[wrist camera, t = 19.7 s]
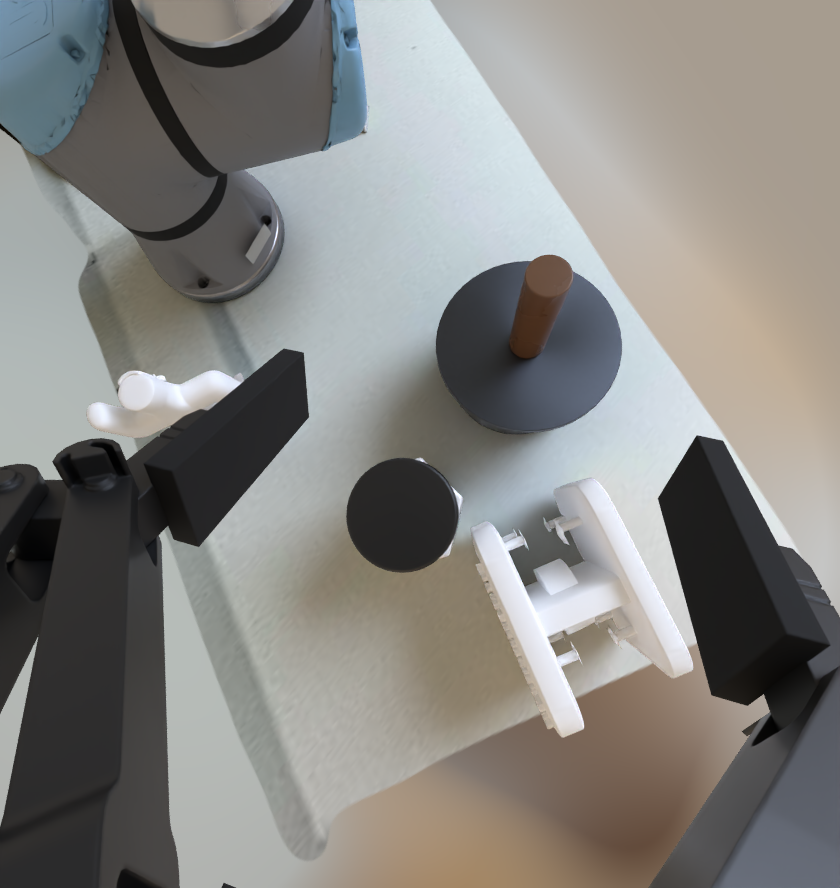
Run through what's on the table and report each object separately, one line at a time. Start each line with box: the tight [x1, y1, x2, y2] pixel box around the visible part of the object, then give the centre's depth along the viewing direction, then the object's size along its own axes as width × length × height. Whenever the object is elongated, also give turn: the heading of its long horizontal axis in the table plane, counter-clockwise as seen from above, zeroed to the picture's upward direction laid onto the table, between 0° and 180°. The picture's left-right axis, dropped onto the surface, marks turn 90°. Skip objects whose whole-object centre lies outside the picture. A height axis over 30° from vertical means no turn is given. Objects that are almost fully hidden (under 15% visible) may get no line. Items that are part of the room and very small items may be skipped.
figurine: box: [87, 370, 244, 438], centre depth 38 cm, size 7×9×15 cm
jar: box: [346, 458, 464, 573], centre depth 36 cm, size 9×8×12 cm
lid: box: [436, 255, 622, 433], centre depth 30 cm, size 14×14×10 cm
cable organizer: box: [471, 478, 693, 738], centre depth 34 cm, size 15×11×12 cm
